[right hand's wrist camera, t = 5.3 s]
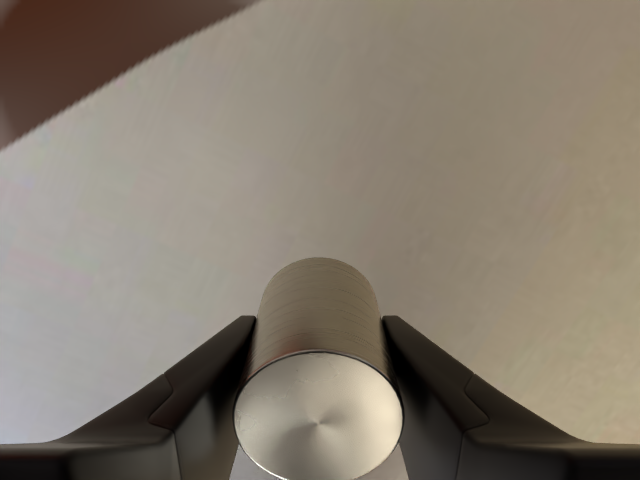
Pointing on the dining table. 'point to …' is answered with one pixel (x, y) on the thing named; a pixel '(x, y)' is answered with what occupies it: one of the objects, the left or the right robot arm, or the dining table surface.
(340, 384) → the can
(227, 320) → the dining table surface
